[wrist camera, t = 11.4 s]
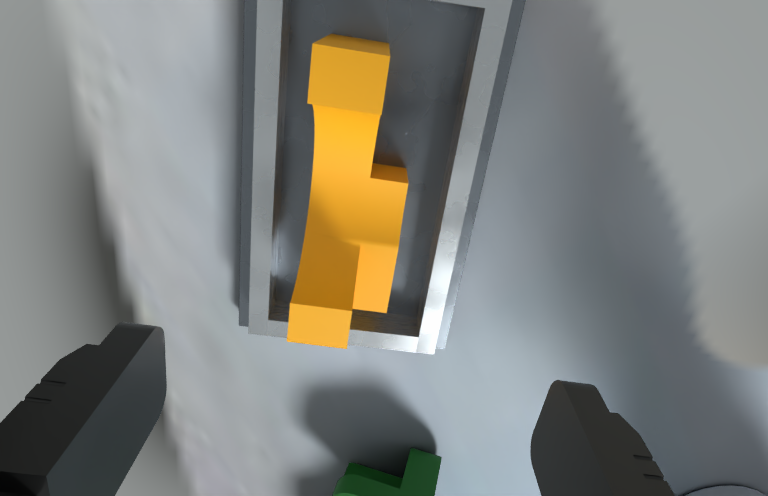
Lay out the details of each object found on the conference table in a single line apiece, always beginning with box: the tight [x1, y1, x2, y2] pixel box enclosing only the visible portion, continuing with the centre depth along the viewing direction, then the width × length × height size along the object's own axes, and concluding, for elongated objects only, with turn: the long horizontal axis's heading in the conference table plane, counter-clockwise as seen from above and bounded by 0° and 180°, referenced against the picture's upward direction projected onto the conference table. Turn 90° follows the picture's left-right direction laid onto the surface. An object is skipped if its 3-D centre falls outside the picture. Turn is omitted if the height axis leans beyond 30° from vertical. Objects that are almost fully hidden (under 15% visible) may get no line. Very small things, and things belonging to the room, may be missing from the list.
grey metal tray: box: [239, 0, 525, 354], centre depth 25 cm, size 12×20×3 cm, turn 172°
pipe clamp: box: [287, 34, 409, 349], centre depth 22 cm, size 12×4×6 cm, turn 171°
